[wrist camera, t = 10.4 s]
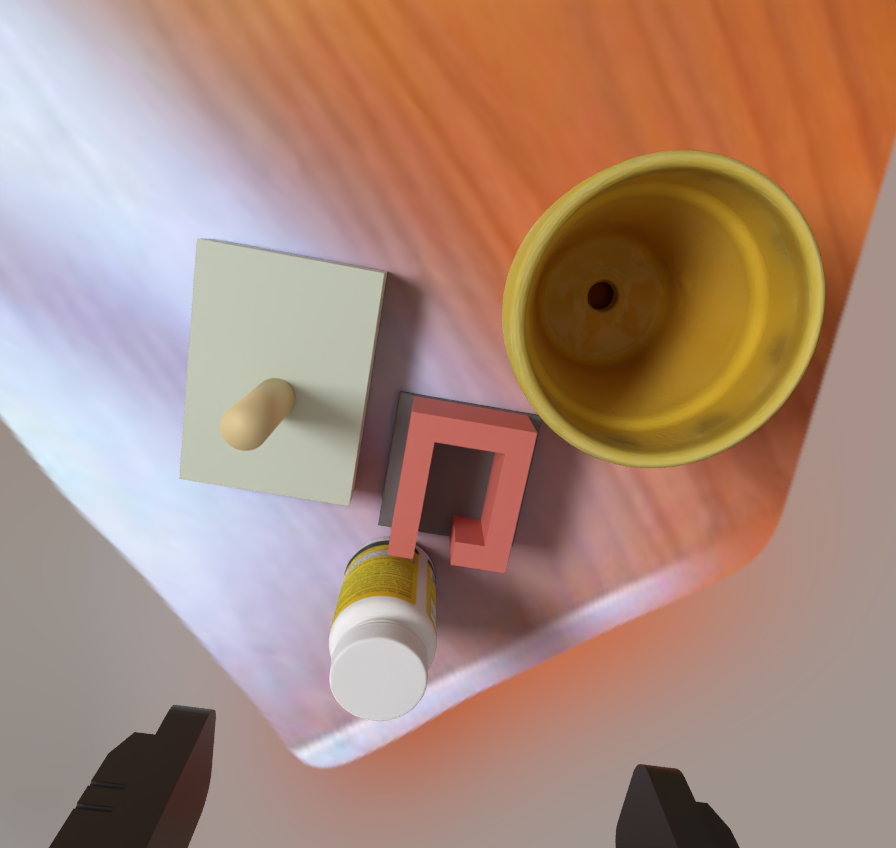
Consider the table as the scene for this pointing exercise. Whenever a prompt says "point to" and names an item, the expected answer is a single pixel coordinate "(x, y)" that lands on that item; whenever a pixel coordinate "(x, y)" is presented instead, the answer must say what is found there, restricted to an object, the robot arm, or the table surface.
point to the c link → (513, 449)
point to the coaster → (442, 475)
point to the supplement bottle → (383, 632)
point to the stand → (278, 371)
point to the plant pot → (664, 308)
